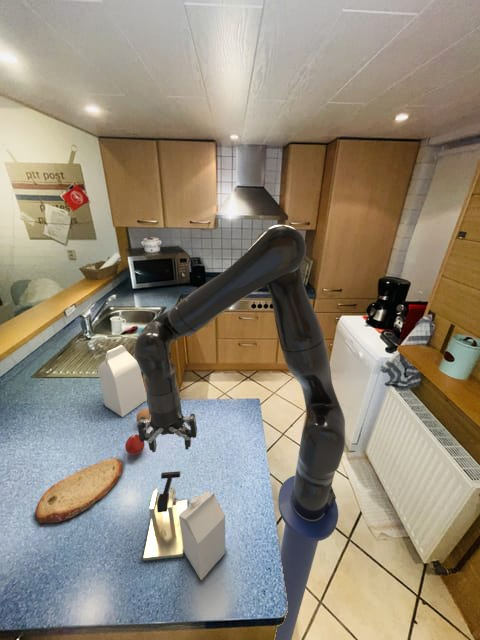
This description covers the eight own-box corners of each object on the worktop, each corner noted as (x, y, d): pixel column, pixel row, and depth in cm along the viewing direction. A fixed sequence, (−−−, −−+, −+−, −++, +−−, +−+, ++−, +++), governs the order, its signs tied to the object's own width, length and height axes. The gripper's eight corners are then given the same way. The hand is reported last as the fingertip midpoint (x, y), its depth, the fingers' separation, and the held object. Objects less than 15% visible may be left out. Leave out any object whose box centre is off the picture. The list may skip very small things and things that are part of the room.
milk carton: (225, 553, 60) (225, 504, 52) (201, 581, 55) (196, 532, 47) (207, 527, 64) (204, 480, 57) (183, 551, 60) (176, 503, 52)
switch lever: (162, 478, 70) (162, 469, 70) (180, 476, 70) (180, 468, 70) (151, 513, 58) (150, 503, 58) (173, 511, 58) (172, 501, 58)
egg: (154, 426, 93) (151, 412, 90) (138, 432, 91) (136, 417, 88) (151, 416, 98) (149, 403, 95) (137, 421, 95) (134, 407, 93)
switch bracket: (154, 505, 69) (148, 474, 64) (187, 502, 70) (184, 471, 65) (143, 560, 58) (135, 529, 53) (182, 556, 59) (178, 525, 54)
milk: (122, 417, 97) (109, 360, 87) (104, 405, 103) (90, 351, 92) (147, 399, 107) (138, 346, 96) (130, 389, 112) (120, 338, 101)
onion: (124, 452, 83) (120, 435, 80) (140, 442, 87) (137, 425, 84) (131, 464, 80) (127, 446, 76) (148, 452, 84) (145, 435, 80)
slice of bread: (127, 461, 80) (125, 453, 79) (96, 526, 64) (93, 517, 63) (72, 459, 81) (69, 451, 79) (27, 523, 64) (22, 515, 63)
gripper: (195, 388, 64) (198, 434, 71) (137, 392, 63) (146, 438, 70) (193, 410, 58) (197, 458, 64) (129, 414, 56) (139, 463, 63)
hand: (170, 448), depth 67 cm, fingers open, 8 cm apart
